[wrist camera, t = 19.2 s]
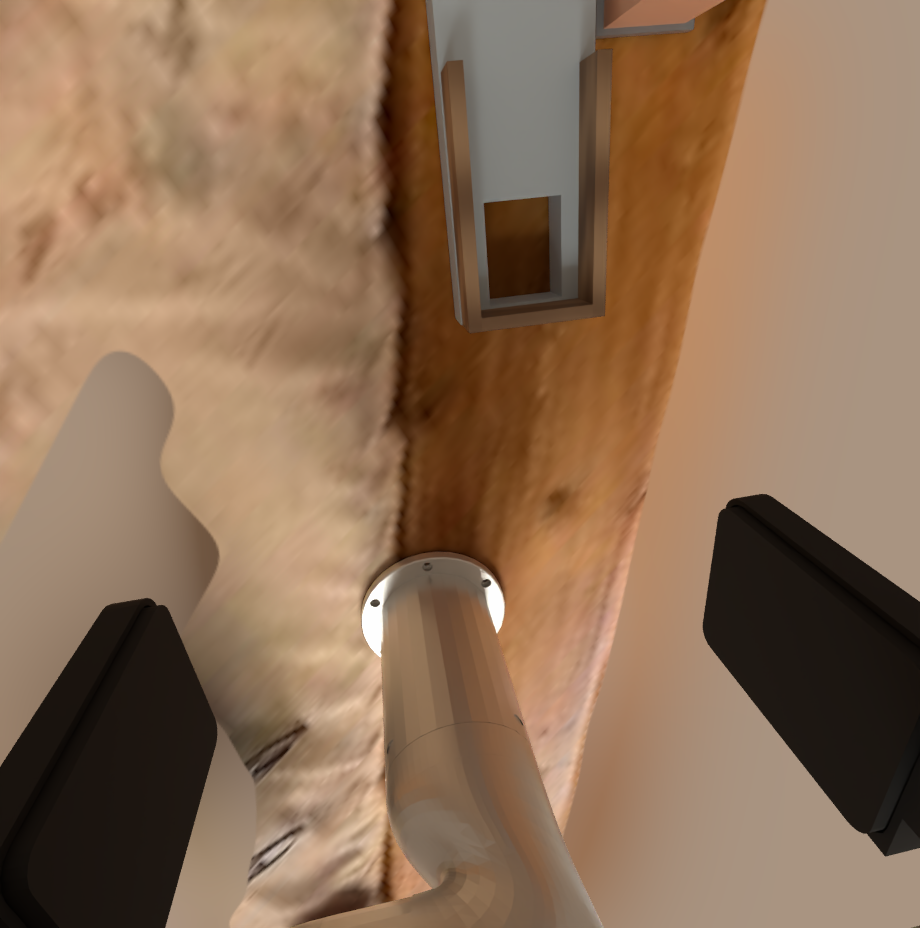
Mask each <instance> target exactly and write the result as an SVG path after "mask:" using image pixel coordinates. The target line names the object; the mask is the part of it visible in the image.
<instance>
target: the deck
mask: <svg viewBox="0 0 920 928" xmlns="http://www.w3.org/2000/svg"><path fill="white" fill-rule="evenodd" d="M426 9H427V20H428V31H429V41H430V52H431V63H432V73H433V84H434V95H435V106H436V116H437V127H438V138H439V148H440V159H441V170H442V181H443V191H444V202H445V213H446V224H447V234H448V245H449V256H450V266H451V277H452V288H453V299H454V309H455V318H456V320H457V321H458V322H459V323H460V324H461V325H463V323H462V312H461V301H460V289H459V278H458V267H457V255H456V244H455V232H454V221H453V210H452V198H451V187H450V175H449V164H448V153H447V141H446V130H445V119H444V107H443V96H442V84H441V71H442V69H443V67H444V66H445V64H446V62H447V61H455V60H463V68H464V81H465V95H466V109H467V123H468V137H469V151H470V165H471V179H472V193H473V206H474V220H475V234H476V248H477V262H478V276H479V290H480V304H481V310H486V309H494V308H502V307H510V306H518V305H526V304H534V303H543V302H551V301H559V300H567V299H575V298H578V207H579V62H580V61H582V60H583V59H585V58H586V57H588V56H589V55H591V54H592V53H594V52H595V30H596V0H426ZM546 196H549V258H550V292H543V293H535V294H527V295H519V296H510V297H502V298H494V299H490V295H489V280H488V264H487V249H486V233H485V217H484V203H487V202H497V201H507V200H517V199H526V198H536V197H546Z"/></svg>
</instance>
